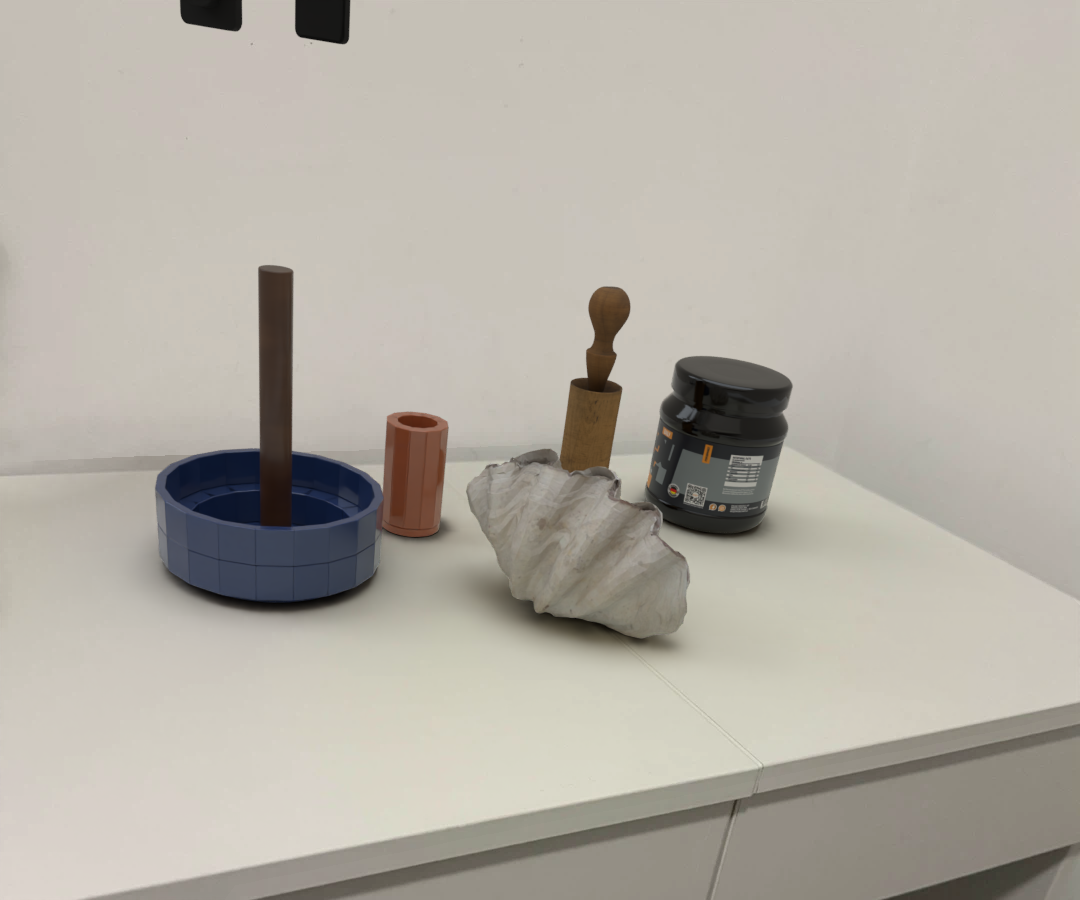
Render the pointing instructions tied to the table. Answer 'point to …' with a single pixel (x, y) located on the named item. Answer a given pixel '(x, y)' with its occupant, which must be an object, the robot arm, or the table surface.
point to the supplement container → (718, 444)
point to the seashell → (580, 545)
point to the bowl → (268, 527)
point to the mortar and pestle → (595, 388)
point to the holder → (414, 473)
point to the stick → (275, 393)
